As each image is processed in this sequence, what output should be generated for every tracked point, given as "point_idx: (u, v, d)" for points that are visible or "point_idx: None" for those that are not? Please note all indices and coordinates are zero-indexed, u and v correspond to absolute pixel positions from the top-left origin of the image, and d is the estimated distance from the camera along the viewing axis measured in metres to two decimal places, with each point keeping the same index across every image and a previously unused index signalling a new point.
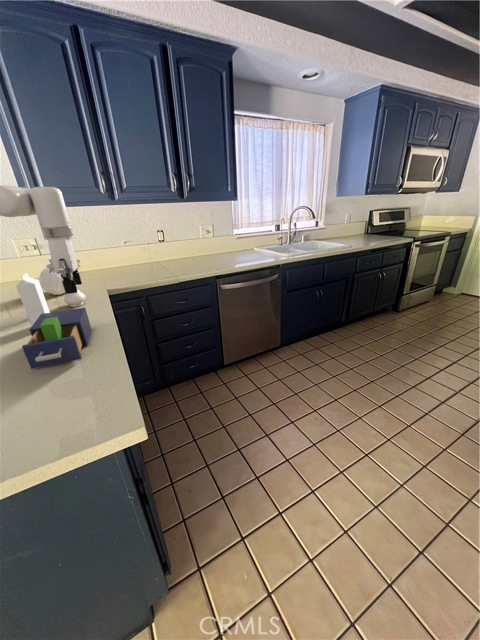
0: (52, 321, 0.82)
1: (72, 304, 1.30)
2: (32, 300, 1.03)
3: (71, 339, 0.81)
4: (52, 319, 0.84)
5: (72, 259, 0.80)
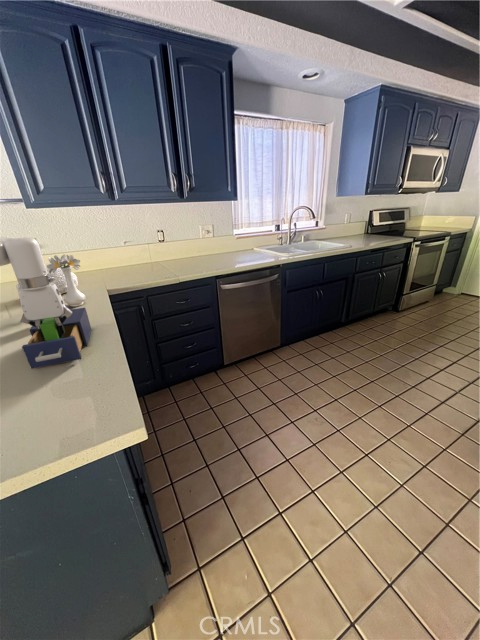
0: (52, 321, 0.82)
1: (72, 304, 1.30)
2: None
3: (71, 339, 0.81)
4: (52, 319, 0.84)
5: (29, 309, 0.78)
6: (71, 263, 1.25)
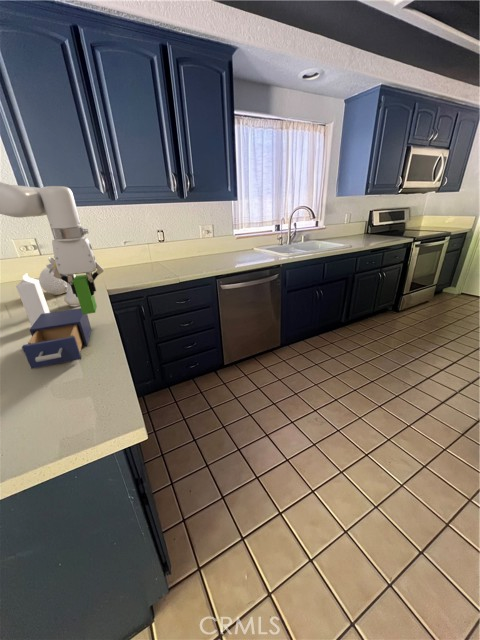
0: (84, 277, 0.81)
1: (72, 304, 1.30)
2: (32, 300, 1.03)
3: (71, 339, 0.81)
4: (83, 276, 0.82)
5: (63, 262, 0.76)
6: None
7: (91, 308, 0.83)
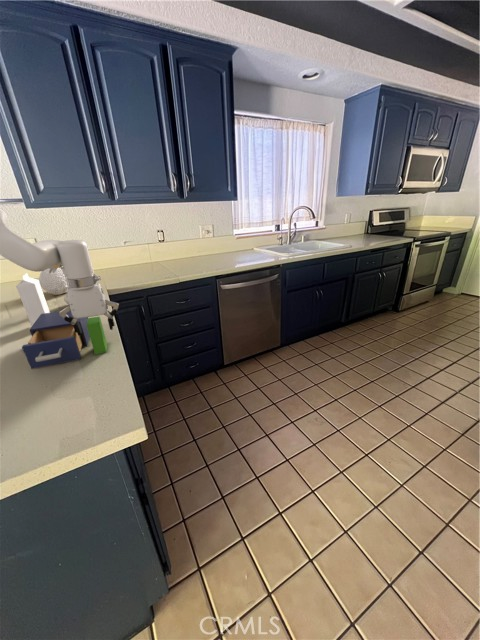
0: (96, 320, 0.87)
1: None
2: (32, 300, 1.03)
3: (71, 339, 0.81)
4: (96, 319, 0.88)
5: (77, 307, 0.82)
6: None
7: (102, 348, 0.89)
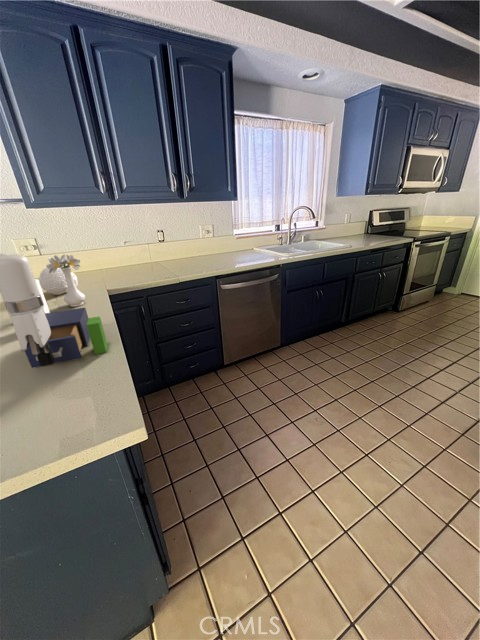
0: (96, 320, 0.87)
1: (72, 304, 1.30)
2: None
3: (71, 338, 0.82)
4: (96, 318, 0.88)
5: (42, 332, 0.69)
6: (71, 263, 1.25)
7: (102, 348, 0.89)
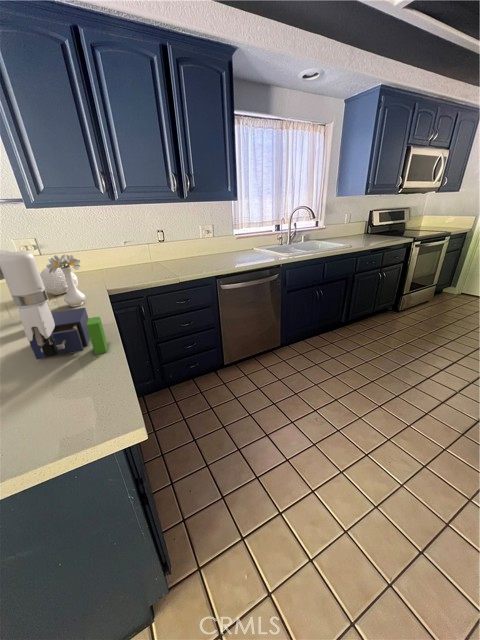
0: (96, 320, 0.87)
1: (72, 304, 1.30)
2: None
3: (74, 331, 0.86)
4: (96, 319, 0.88)
5: (46, 324, 0.74)
6: (71, 263, 1.25)
7: (102, 348, 0.89)
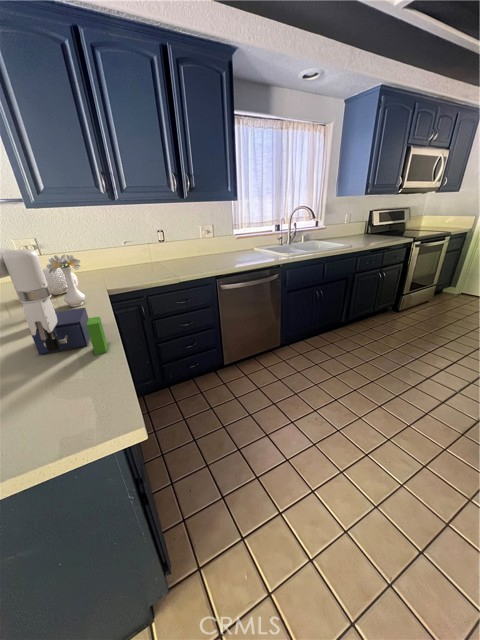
0: (96, 320, 0.87)
1: (72, 304, 1.30)
2: None
3: (76, 327, 0.89)
4: (96, 319, 0.88)
5: (49, 319, 0.77)
6: (71, 263, 1.25)
7: (102, 348, 0.89)
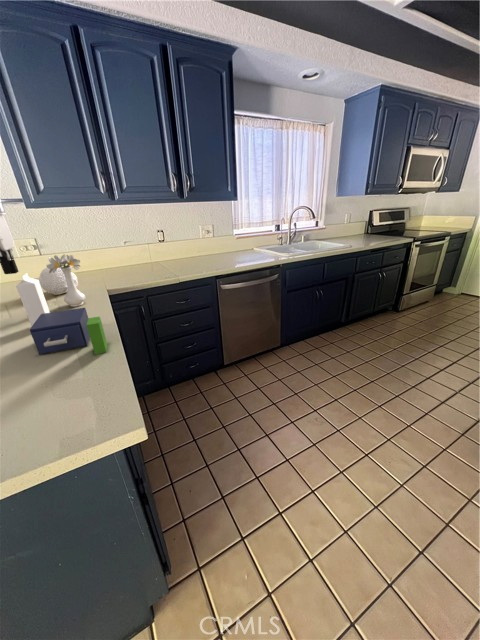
0: (96, 320, 0.87)
1: (72, 304, 1.30)
2: (32, 300, 1.03)
3: (76, 327, 0.89)
4: (96, 319, 0.88)
5: (3, 237, 0.76)
6: (71, 263, 1.25)
7: (102, 348, 0.89)
